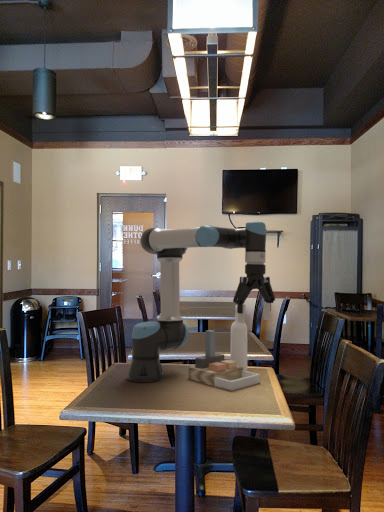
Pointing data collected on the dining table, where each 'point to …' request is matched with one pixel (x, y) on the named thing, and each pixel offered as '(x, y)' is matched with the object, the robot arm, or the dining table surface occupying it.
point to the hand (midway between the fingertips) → (254, 321)
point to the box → (238, 381)
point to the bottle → (239, 342)
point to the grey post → (209, 352)
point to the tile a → (217, 366)
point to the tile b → (229, 364)
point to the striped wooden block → (214, 374)
